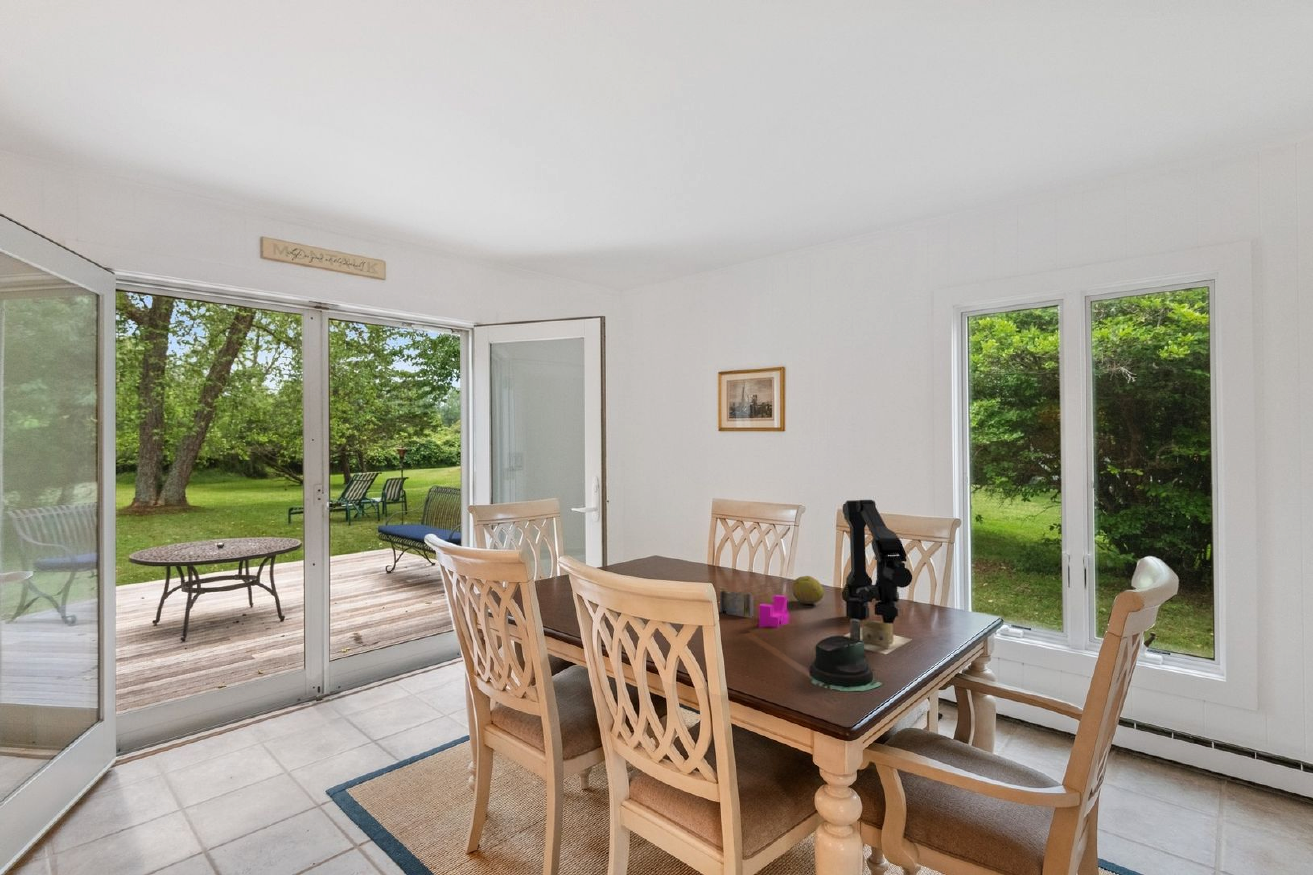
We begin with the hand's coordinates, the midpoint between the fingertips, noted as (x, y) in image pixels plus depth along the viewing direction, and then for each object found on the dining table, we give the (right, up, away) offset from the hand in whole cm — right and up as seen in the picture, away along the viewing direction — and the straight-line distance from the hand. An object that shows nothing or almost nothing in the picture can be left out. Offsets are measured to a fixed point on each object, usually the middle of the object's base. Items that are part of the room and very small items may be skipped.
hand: (887, 631), depth 179 cm
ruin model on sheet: (-40, -5, +31) cm, 51 cm away
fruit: (-13, -4, +43) cm, 45 cm away
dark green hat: (-20, -5, -23) cm, 31 cm away
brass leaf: (-3, -2, -1) cm, 4 cm away
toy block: (-28, -5, +21) cm, 35 cm away
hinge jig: (-4, -4, 0) cm, 6 cm away
